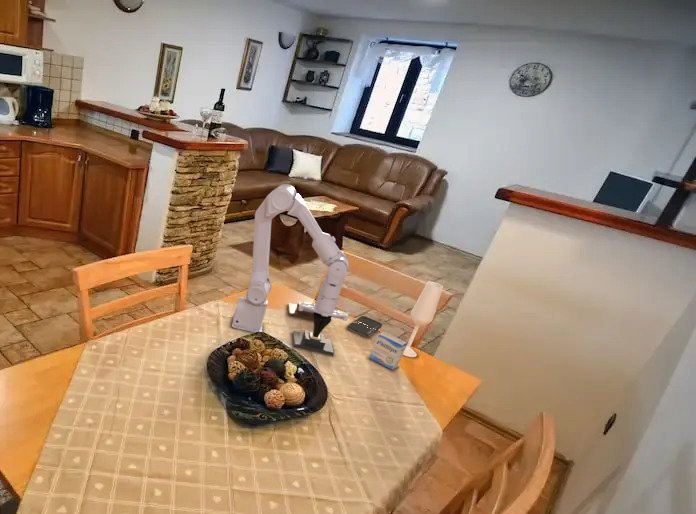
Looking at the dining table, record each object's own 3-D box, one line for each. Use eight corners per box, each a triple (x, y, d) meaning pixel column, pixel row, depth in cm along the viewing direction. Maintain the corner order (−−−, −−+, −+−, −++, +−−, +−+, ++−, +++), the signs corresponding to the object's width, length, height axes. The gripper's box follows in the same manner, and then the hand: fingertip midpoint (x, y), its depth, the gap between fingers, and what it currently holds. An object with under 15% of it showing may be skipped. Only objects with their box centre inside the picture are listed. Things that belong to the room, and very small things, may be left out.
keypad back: (288, 315, 172) (290, 308, 171) (287, 305, 180) (290, 298, 179) (322, 323, 172) (325, 315, 170) (320, 313, 180) (323, 305, 178)
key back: (302, 308, 173) (304, 304, 173) (302, 305, 176) (303, 301, 176) (311, 310, 173) (313, 306, 173) (311, 307, 176) (312, 303, 175)
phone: (383, 324, 178) (368, 335, 167) (382, 326, 179) (367, 338, 167) (362, 315, 182) (346, 325, 171) (361, 318, 182) (345, 328, 171)
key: (309, 341, 153) (310, 336, 153) (308, 336, 156) (309, 332, 155) (319, 343, 153) (320, 339, 152) (318, 338, 156) (319, 334, 155)
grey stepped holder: (293, 347, 152) (296, 338, 150) (292, 334, 160) (295, 325, 158) (332, 356, 151) (335, 347, 150) (329, 342, 159) (332, 334, 158)
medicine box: (368, 358, 154) (377, 334, 150) (374, 354, 157) (384, 330, 153) (392, 370, 150) (402, 345, 146) (397, 366, 153) (408, 342, 149)
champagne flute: (416, 359, 160) (447, 290, 149) (395, 352, 162) (424, 284, 151) (416, 351, 166) (446, 284, 155) (396, 344, 168) (424, 278, 157)
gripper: (305, 295, 145) (292, 336, 151) (354, 306, 144) (340, 346, 150) (303, 286, 151) (291, 326, 157) (351, 297, 150) (337, 336, 156)
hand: (315, 335), depth 154 cm, fingers closed, pressing on key
